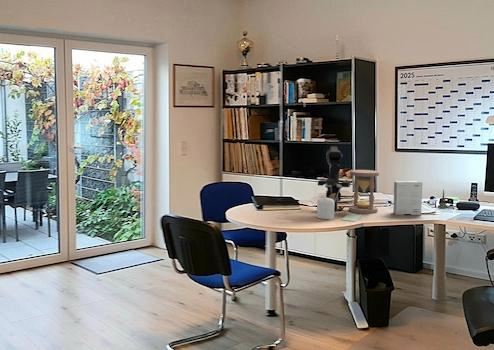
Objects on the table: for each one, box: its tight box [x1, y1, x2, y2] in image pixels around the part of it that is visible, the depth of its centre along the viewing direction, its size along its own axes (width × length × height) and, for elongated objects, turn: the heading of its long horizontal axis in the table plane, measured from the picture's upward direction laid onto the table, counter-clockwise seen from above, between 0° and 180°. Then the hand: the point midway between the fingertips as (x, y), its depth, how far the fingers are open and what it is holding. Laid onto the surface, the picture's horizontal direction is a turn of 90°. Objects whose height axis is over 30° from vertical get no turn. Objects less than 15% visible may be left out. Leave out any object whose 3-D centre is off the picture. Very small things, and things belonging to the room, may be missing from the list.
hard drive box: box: [393, 180, 423, 216], centre depth 321 cm, size 16×8×20 cm, turn 84°
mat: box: [340, 213, 363, 222], centre depth 308 cm, size 18×8×1 cm, turn 155°
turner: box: [329, 193, 338, 202], centre depth 316 cm, size 15×6×3 cm, turn 155°
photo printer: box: [316, 197, 335, 221], centre depth 305 cm, size 10×4×12 cm, turn 56°
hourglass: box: [348, 169, 380, 215], centre depth 329 cm, size 18×18×25 cm
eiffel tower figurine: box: [437, 189, 455, 210], centre depth 343 cm, size 15×10×13 cm
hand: (333, 197), depth 319 cm, fingers closed on turner, 2 cm apart
